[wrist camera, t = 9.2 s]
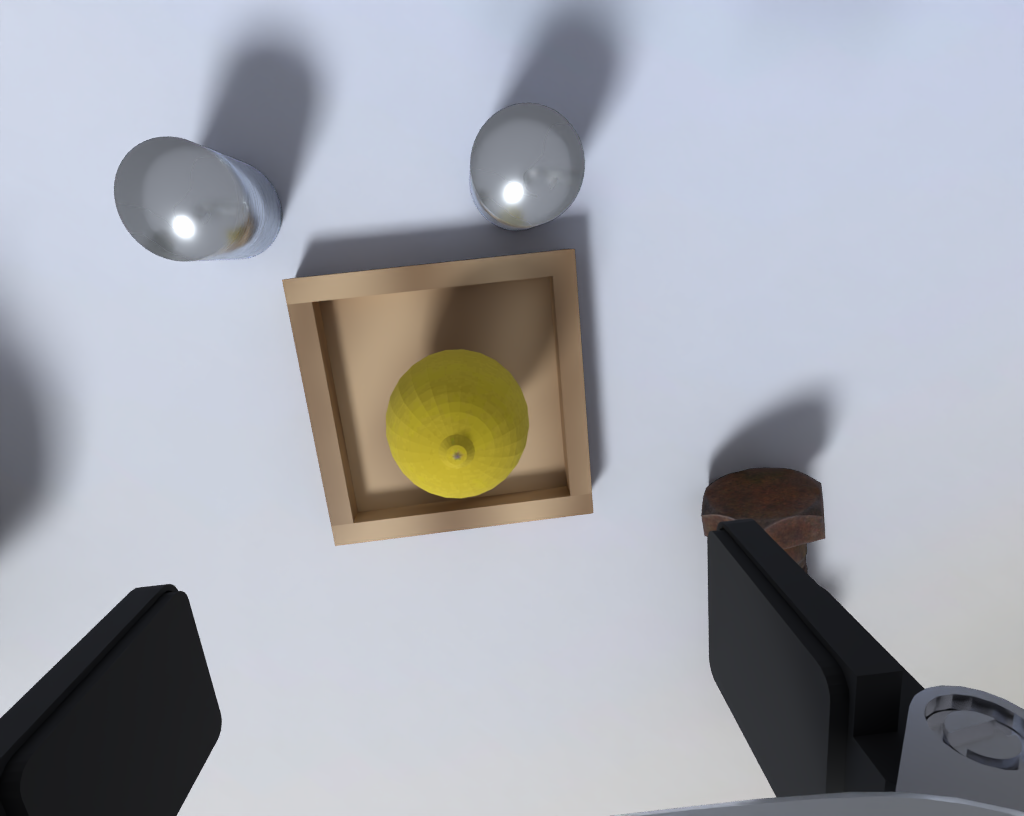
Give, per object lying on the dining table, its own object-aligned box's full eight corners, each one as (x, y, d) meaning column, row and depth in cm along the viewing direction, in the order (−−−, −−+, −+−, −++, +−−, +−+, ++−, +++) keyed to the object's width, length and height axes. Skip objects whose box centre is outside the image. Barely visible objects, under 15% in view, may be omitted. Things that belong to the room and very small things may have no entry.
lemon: (416, 466, 28) (397, 550, 20) (383, 352, 26) (349, 395, 19) (531, 438, 28) (556, 511, 20) (504, 323, 26) (520, 354, 19)
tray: (567, 249, 26) (574, 248, 25) (585, 497, 29) (593, 513, 28) (294, 277, 26) (282, 279, 24) (343, 528, 29) (335, 545, 27)
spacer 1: (270, 154, 24) (222, 130, 20) (290, 254, 25) (249, 255, 21) (172, 164, 24) (99, 142, 19) (195, 264, 25) (132, 267, 20)
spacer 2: (558, 126, 25) (580, 97, 20) (565, 225, 26) (588, 220, 21) (464, 135, 25) (463, 108, 20) (475, 234, 26) (477, 231, 21)
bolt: (747, 687, 36) (711, 464, 31) (842, 700, 33) (819, 461, 29) (738, 774, 31) (695, 524, 26) (849, 796, 28) (823, 526, 24)
